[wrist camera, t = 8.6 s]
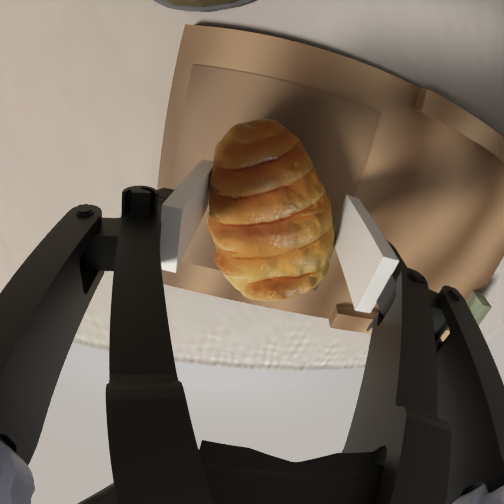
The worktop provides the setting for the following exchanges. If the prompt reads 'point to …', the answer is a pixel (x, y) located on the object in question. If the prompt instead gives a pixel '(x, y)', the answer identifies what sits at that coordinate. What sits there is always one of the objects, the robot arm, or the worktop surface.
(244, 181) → the pastry
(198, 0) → the canister
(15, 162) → the worktop surface
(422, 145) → the tan flat piece
